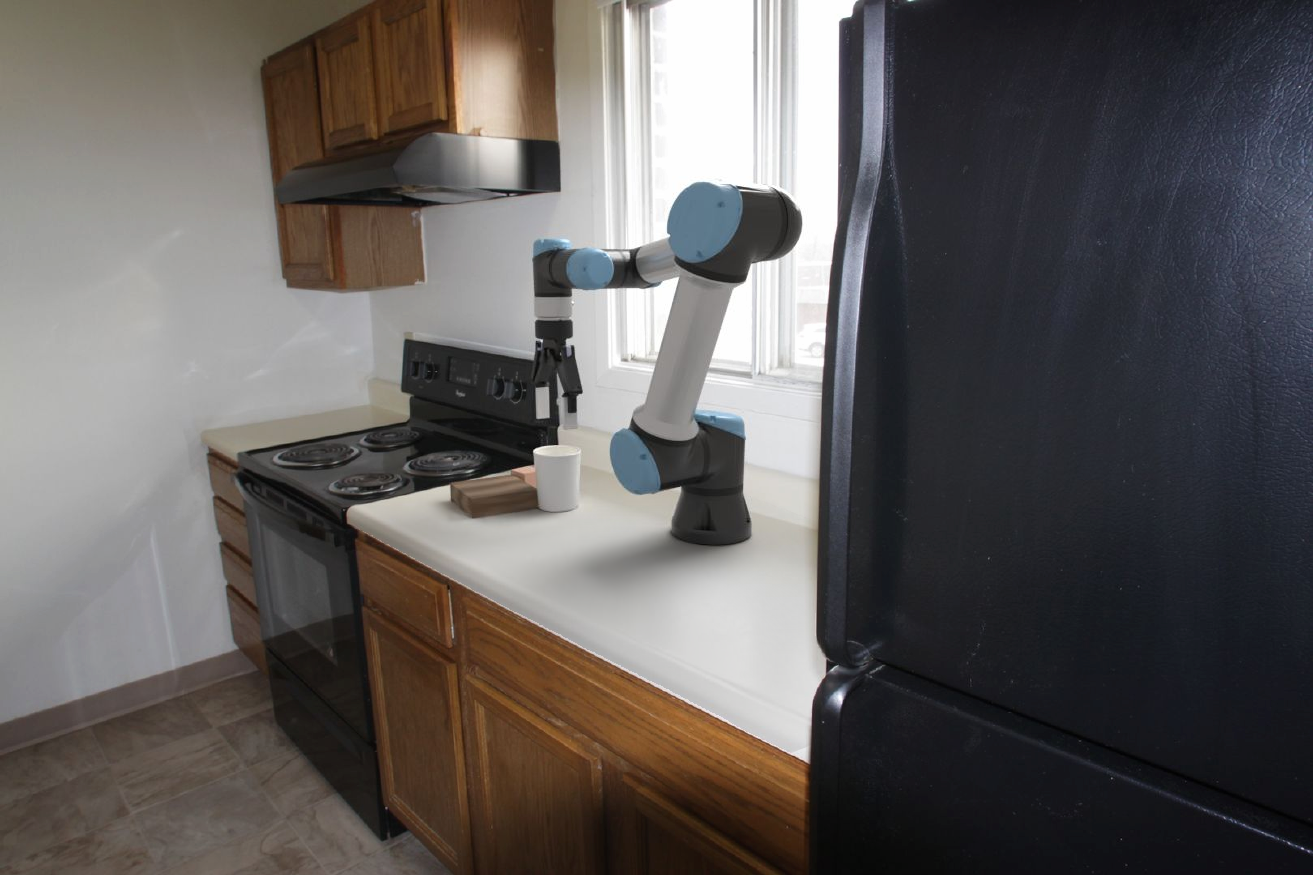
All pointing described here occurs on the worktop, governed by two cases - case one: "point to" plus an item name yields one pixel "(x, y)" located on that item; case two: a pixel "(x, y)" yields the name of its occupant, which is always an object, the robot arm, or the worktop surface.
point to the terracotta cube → (526, 475)
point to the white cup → (557, 477)
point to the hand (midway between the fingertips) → (556, 423)
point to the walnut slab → (493, 495)
